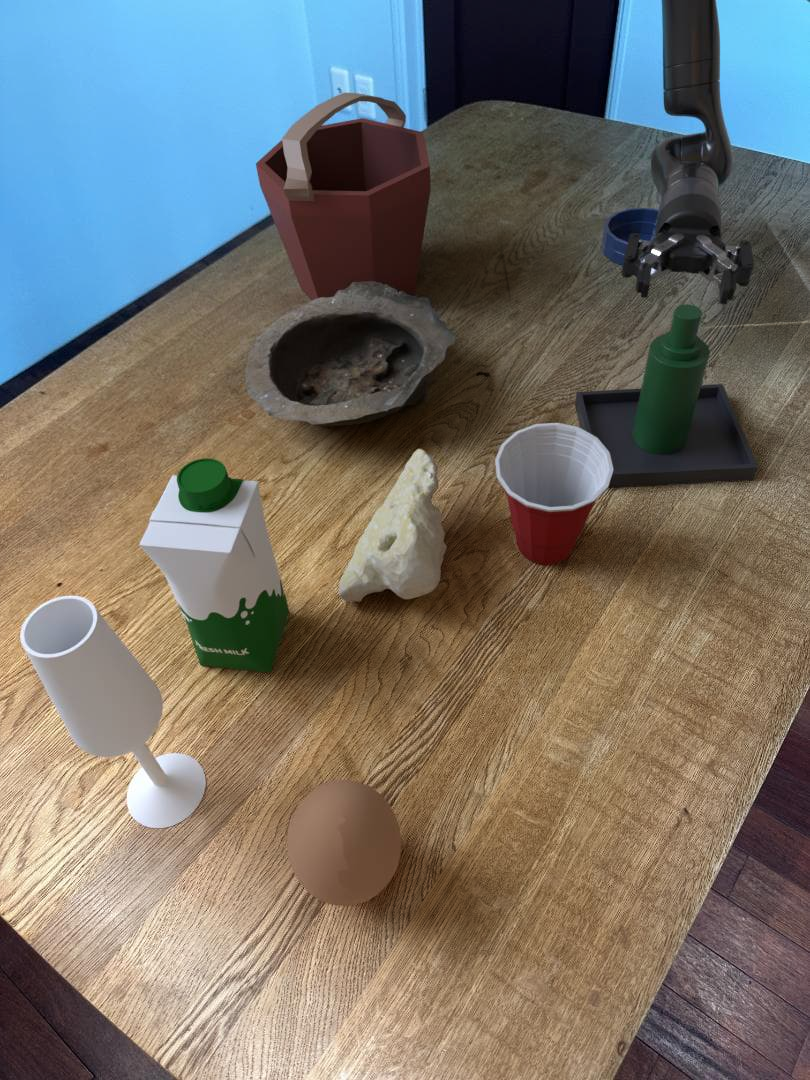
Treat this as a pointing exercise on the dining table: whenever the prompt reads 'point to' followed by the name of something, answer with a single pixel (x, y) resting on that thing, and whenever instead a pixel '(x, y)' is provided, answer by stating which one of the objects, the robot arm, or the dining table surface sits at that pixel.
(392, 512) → the cheese
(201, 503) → the milk carton
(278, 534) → the dining table surface
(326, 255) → the bucket
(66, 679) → the champagne flute
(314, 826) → the egg
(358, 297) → the stone bowl
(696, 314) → the bottle
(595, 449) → the plastic cup
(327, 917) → the dining table surface
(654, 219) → the bowl
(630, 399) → the tray
